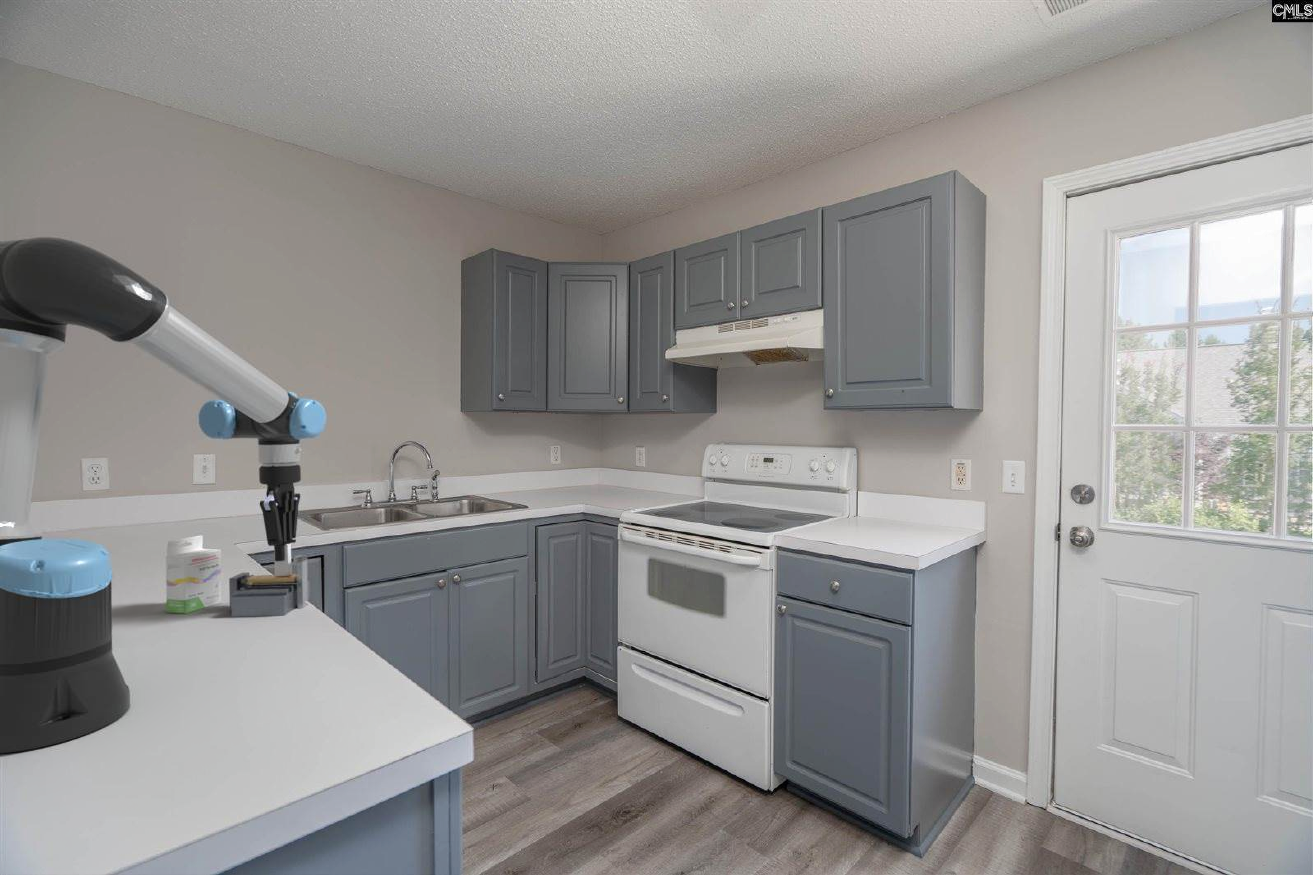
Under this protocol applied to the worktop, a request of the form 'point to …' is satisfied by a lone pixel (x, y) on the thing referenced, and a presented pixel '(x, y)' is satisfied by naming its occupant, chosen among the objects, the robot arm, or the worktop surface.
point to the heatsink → (270, 594)
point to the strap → (268, 579)
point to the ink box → (192, 576)
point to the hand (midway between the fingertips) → (283, 574)
